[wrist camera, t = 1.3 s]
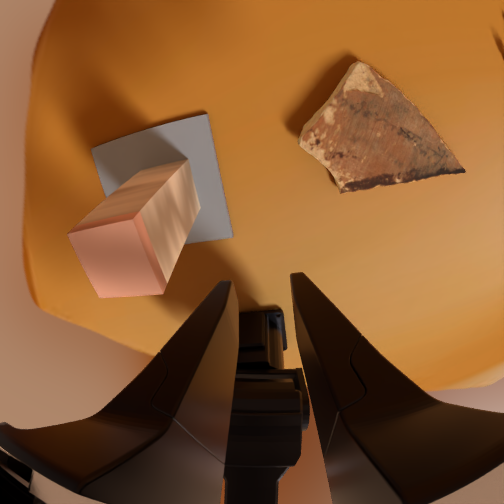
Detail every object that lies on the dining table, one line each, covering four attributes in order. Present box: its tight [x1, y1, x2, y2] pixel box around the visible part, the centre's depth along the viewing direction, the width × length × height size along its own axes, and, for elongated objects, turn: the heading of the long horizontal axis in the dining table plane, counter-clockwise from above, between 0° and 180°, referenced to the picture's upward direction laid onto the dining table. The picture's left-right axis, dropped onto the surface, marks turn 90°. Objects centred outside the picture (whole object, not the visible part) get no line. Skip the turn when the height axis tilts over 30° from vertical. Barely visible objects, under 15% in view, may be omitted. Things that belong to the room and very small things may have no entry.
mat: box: [91, 114, 233, 244], centre depth 20 cm, size 10×10×1 cm
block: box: [67, 159, 201, 298], centre depth 16 cm, size 4×4×10 cm
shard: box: [298, 61, 466, 194], centre depth 18 cm, size 13×9×2 cm
